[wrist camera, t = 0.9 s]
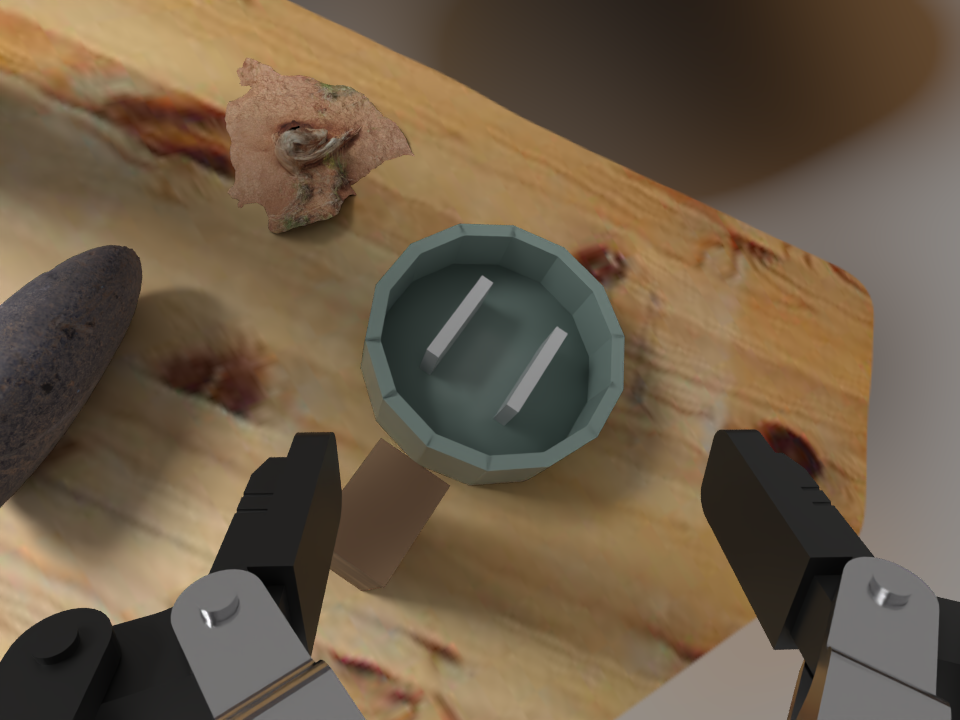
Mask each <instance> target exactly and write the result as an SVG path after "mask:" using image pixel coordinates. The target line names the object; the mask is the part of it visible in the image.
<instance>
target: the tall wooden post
mask: <svg viewBox="0 0 960 720" xmlns="http://www.w3.org/2000/svg"><path fill="white" fill-rule="evenodd" d="M449 487H450V485H448V484H447V483H445V482H444V481H442V480H441V479H440V478H438V477H437V476H435V475H434V474H432V473H431V472H429V471H428V470H427V469H425V468H424V467H422V466H421V465H419V464H418V463H416V462H415V461H414V460H412V459H411V458H409V457H408V456H406V455H405V454H403V453H402V452H401V451H399V450H398V449H396V448H395V447H393V446H392V445H390V444H389V443H387V442H386V441H385V440H383V439H382V438H381V439H380V440H379V441H378V443H377V444H376V445H375V447H374V448H373V449H372V451H371V452H370V454H369V455H368V456H367V458H366V459H365V460H364V462H363V463H362V464H361V466H360V467H359V468H358V470H357V471H356V473H355V474H354V475H353V477H352V478H351V479H350V481H349V482H348V483H347V485H346V486H345V488H344V489H343V490H342V509H341V518H340V524H339V528H338V533H337V538H336V542H335V547H334V552H333V556H332V561H331V566H330V569H331V570H332V571H334V572H335V573H336V574H338V575H339V576H341V577H342V578H344V579H345V580H347V581H348V582H349V583H351V584H352V585H354V586H355V587H357V588H358V589H360V590H361V591H365V590H371V589H376V588H382V587H385V586H386V584H387V583H388V581H389V579H390V578H391V576H392V575H393V573H394V572H395V570H396V569H397V567H398V566H399V564H400V562H401V561H402V559H403V558H404V556H405V555H406V553H407V552H408V550H409V549H410V547H411V545H412V544H413V542H414V541H415V539H416V538H417V536H418V535H419V533H420V532H421V530H422V529H423V527H424V525H425V524H426V522H427V521H428V519H429V518H430V516H431V515H432V513H433V512H434V510H435V508H436V507H437V505H438V504H439V502H440V501H441V499H442V498H443V496H444V495H445V493H446V492H447V490H448V488H449Z"/></svg>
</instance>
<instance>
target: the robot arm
mask: <svg viewBox="0 0 960 720" xmlns="http://www.w3.org/2000/svg"><path fill="white" fill-rule="evenodd" d="M701 503H702V508H703V512H704V514H705V517H706V519H707V521H708V523H709V525H710V526H711V528H712V530H713V532H714V534H715V536H716V538H717V540H718V542H719V544H720V546H721V548H722V550H723V552H724V554H725V556H726V558H727V559H728V561H729V563H730V565H731V567H732V569H733V571H734V573H735V575H736V577H737V579H738V581H739V583H740V585H741V587H742V589H743V591H744V592H745V594H746V596H747V598H748V600H749V602H750V604H751V606H752V608H753V610H754V612H755V614H756V616H757V618H758V620H759V621H760V624H761V626H762V627H763V629H764V631H765V633H766V635H767V637H768V639H769V641H770V643H771V645H772V647H773V649H774V650H784V649H799V650H800V652H801V654H802V656H803V658H804V662H803V664H802V666H801V669H800V671H799V675H798V679H797V682H796V687H795V690H794V694H793V698H792V702H791V706H790V710H789V714H788V718H787V720H960V602H957V601H953V600H949V599H944V598H940V597H936V596H935V594H934V592H933V591H932V590H931V589H930V587H929V586H928V585H927V584H926V583H925V582H924V581H923V580H922V579H920V578H919V577H918V576H917V575H915V574H914V573H912V572H911V571H909V570H908V569H905V568H904V567H902V566H900V565H898V564H896V563H893V562H890V561H887V560H884V559H880V558H875V557H874V556H873V555H872V553H871V552H870V551H869V549H868V548H867V547H866V546H865V544H864V543H863V542H862V541H861V539H860V538H859V537H858V535H857V534H856V533H855V532H854V530H853V529H852V528H851V527H850V525H849V524H848V523H847V522H846V520H845V519H844V518H843V516H842V515H841V514H840V513H839V511H838V510H837V509H836V508H835V506H831V501H830V500H829V499H828V497H827V496H826V495H825V494H824V492H823V491H822V490H819V486H818V485H817V484H816V482H815V481H814V480H813V478H812V477H811V476H810V475H809V473H808V472H807V471H806V470H805V468H803V467H802V466H800V465H799V464H797V463H796V462H795V461H793V460H792V459H790V458H789V457H788V456H786V455H785V454H783V453H775V452H774V451H773V449H772V448H771V447H770V445H769V444H768V443H767V441H766V440H765V439H764V437H763V436H762V435H761V433H760V432H759V431H757V430H719V431H717V432H716V434H715V436H714V439H713V443H712V447H711V450H710V454H709V458H708V462H707V466H706V470H705V474H704V478H703V482H702V487H701ZM341 509H342V490H341V480H340V472H339V463H338V454H337V445H336V438H335V434H334V433H333V432H305V433H296V434H295V436H294V439H293V442H292V444H291V447H290V450H289V453H288V455H287V457H269V458H268V459H267V460H266V461H265V462H264V463H263V464H262V465H261V466H260V467H259V468H258V469H257V470H256V471H255V472H254V473H253V474H252V475H251V477H250V480H249V482H248V484H247V487H246V489H245V491H244V496H243V497H242V498H241V500H240V503H239V505H238V507H237V513H235V514H234V517H233V519H232V521H231V524H230V526H229V528H228V531H227V533H226V535H225V538H224V540H223V542H222V545H221V547H220V549H219V552H218V554H217V556H216V559H215V561H214V563H213V566H212V568H211V570H210V573H209V574H208V575H206V576H204V577H202V578H200V579H199V580H197V581H195V582H194V583H193V584H191V585H190V586H189V587H188V588H186V589H185V590H184V591H183V592H182V594H181V595H180V596H179V597H178V599H177V600H176V602H175V604H174V606H173V607H171V608H169V609H167V610H165V611H162V612H159V613H156V614H153V615H149V616H146V617H142V618H139V619H135V620H131V621H128V622H124V623H121V624H117V625H114V626H112V625H111V622H110V620H109V618H108V617H107V616H106V615H105V614H104V613H102V612H101V611H98V610H96V609H90V608H77V609H70V610H66V611H62V612H60V613H57V614H54V615H52V616H50V617H47V618H45V619H43V620H42V621H40V622H38V623H36V624H35V625H33V626H32V627H31V628H29V629H28V630H26V631H25V632H24V633H23V634H22V635H21V636H20V637H19V638H18V639H17V640H16V641H15V642H14V643H13V644H12V645H11V647H10V648H9V649H8V651H7V652H6V654H5V655H4V657H3V659H2V660H1V662H0V720H365V718H364V717H363V715H362V714H361V712H360V711H359V709H358V708H357V706H356V705H355V703H354V702H353V700H352V699H351V697H350V696H349V694H348V693H347V691H346V690H345V688H344V687H343V685H342V684H341V682H340V681H339V679H338V678H337V676H336V675H335V673H334V672H333V670H332V669H331V668H330V667H329V665H328V664H327V663H326V662H325V661H323V660H319V661H318V662H314V661H313V659H312V658H311V654H312V650H313V645H314V640H315V636H316V631H317V626H318V622H319V617H320V612H321V608H322V603H323V598H324V594H325V589H326V584H327V580H328V575H329V570H330V566H331V561H332V556H333V552H334V547H335V542H336V538H337V533H338V528H339V524H340V518H341Z"/></svg>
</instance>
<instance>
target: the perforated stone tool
mask: <svg viewBox="0 0 960 720" xmlns="http://www.w3.org/2000/svg"><path fill="white" fill-rule="evenodd" d="M141 283H142V267H141V262H140V257H138V256H137V255H136V253H135V252H134V251H133V249H129V248H127V246H124V247H121V246H115V245H107V246H102V247H97V248H94V249H91V250H88V251H86V252H83V253H81V254H79V255H76V256H73V257H71V258H69V259H67V260H66V261H64V262H62V263H61V264H59V265H57V266H56V267H55V268H54V269H52V270H50V271H49V272H46V273H43V274H41V275H39V276H38V277H36V278H35V279H33V280H32V281H31V282H29V283H28V284H26V285H25V286H24V287H22V288H21V289H20V290H18V291H17V292H16V293H15V294H13V295H12V296H11V297H10V298H8V299H7V300H6V301H5V302H4V303H3V304H1V305H0V507H1V506H2V505H3V504H4V503H5V502H6V501H7V500H8V499H9V498H10V497H11V496H12V495H13V494H14V493H15V492H16V491H17V490H18V489H19V488H20V487H21V486H22V484H23V483H24V482H25V481H26V480H27V479H28V478H29V477H30V476H31V474H32V473H33V472H34V471H35V470H36V469H37V467H39V465H40V464H41V463H42V462H43V460H44V459H45V458H46V457H47V456H48V454H49V453H50V452H51V451H52V449H53V448H54V447H55V445H56V444H57V443H58V441H59V440H60V439H61V437H62V436H63V435H64V433H65V432H66V431H67V429H68V428H69V426H70V425H71V424H72V422H73V421H74V419H75V418H76V416H77V415H78V413H79V412H80V410H81V409H82V408H83V406H84V404H85V403H86V401H87V400H88V398H89V397H90V395H91V393H92V392H93V390H94V388H95V386H96V385H97V383H98V382H99V380H100V379H101V377H102V375H103V373H104V371H105V369H106V368H107V366H108V364H109V363H110V361H111V359H112V357H113V355H114V354H115V352H116V350H117V349H118V347H119V345H120V343H121V341H122V339H123V337H124V335H125V333H126V331H127V329H128V327H129V325H130V323H131V320H132V317H133V315H134V312H135V309H136V305H137V302H138V298H139V294H140V291H141Z"/></svg>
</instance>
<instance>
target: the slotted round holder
mask: <svg viewBox="0 0 960 720" xmlns="http://www.w3.org/2000/svg"><path fill="white" fill-rule="evenodd" d="M624 337H625V336H624V334H623V332H622V329H621V327H620V325H619V322H618V320H617V318H616V315H615V313H614V311H613V308H612V306H611V304H610V301H609V299H608V297H607V294H606V292H605V290H604V287H603V286H602V285H601V284H600V283H599V282H598V281H597V280H596V279H595V278H594V277H593V276H592V275H591V274H590V273H589V272H588V271H587V270H586V269H585V268H584V267H583V266H582V265H581V264H580V263H579V262H578V261H577V260H576V259H575V258H574V257H573V256H572V255H571V254H570V253H569V252H568V251H567V250H566V249H565V248H564V247H561V246H559V245H557V244H555V243H552V242H550V241H548V240H546V239H543V238H541V237H539V236H536V235H534V234H532V233H530V232H527V231H525V230H523V229H521V228H518V227H516V226H514V225H483V224H458V225H455V226H453V227H451V228H448V229H446V230H443V231H441V232H438V233H436V234H434V235H431V236H429V237H426V238H424V239H421V240H419V241H417V242H414V243H412V244H410V245H409V247H408V248H407V249H406V250H405V251H404V252H403V254H402V255H401V256H400V257H399V258H398V260H397V261H396V262H395V263H394V264H393V265H392V267H391V268H390V269H389V270H388V271H387V272H386V274H385V275H384V276H383V277H382V278H381V280H380V281H379V282H378V283H377V284H376V287H375V293H374V298H373V303H372V308H371V313H370V318H369V323H368V328H367V333H366V338H365V342H364V349H363V355H362V362H361V371H362V374H363V377H364V381H365V384H366V388H367V391H368V394H369V398H370V401H371V404H372V408H373V411H374V415H375V418H376V421H377V422H378V423H379V424H380V426H381V427H382V428H383V429H384V430H385V431H386V432H387V433H388V434H389V435H390V436H391V437H392V439H393V440H394V441H395V442H396V443H397V444H398V445H399V446H400V447H401V448H402V449H403V451H404V452H405V453H406V454H407V455H408V456H409V457H410V458H411V459H412V460H414V461H415V462H416V463H418V464H419V465H421V466H423V467H425V468H428V469H430V470H433V471H435V472H438V473H440V474H443V475H445V476H448V477H450V478H452V479H455V480H457V481H460V482H462V483H465V484H467V485H481V484H494V483H507V482H520V481H526V480H528V479H530V478H532V477H533V476H535V475H537V474H538V473H540V472H542V471H543V470H545V469H547V468H549V467H550V466H551V465H553V464H554V463H556V462H558V461H559V460H561V459H562V458H564V457H566V456H567V455H569V454H570V453H572V452H574V451H575V450H577V449H578V448H580V447H582V446H583V445H585V444H586V443H588V442H590V441H591V440H593V439H595V438H597V437H598V435H599V433H600V431H601V429H602V427H603V426H604V424H605V422H606V420H607V418H608V416H609V415H610V413H611V411H612V409H613V407H614V406H615V404H616V402H617V400H618V398H619V396H620V395H621V393H622V391H623V380H624Z"/></svg>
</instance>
